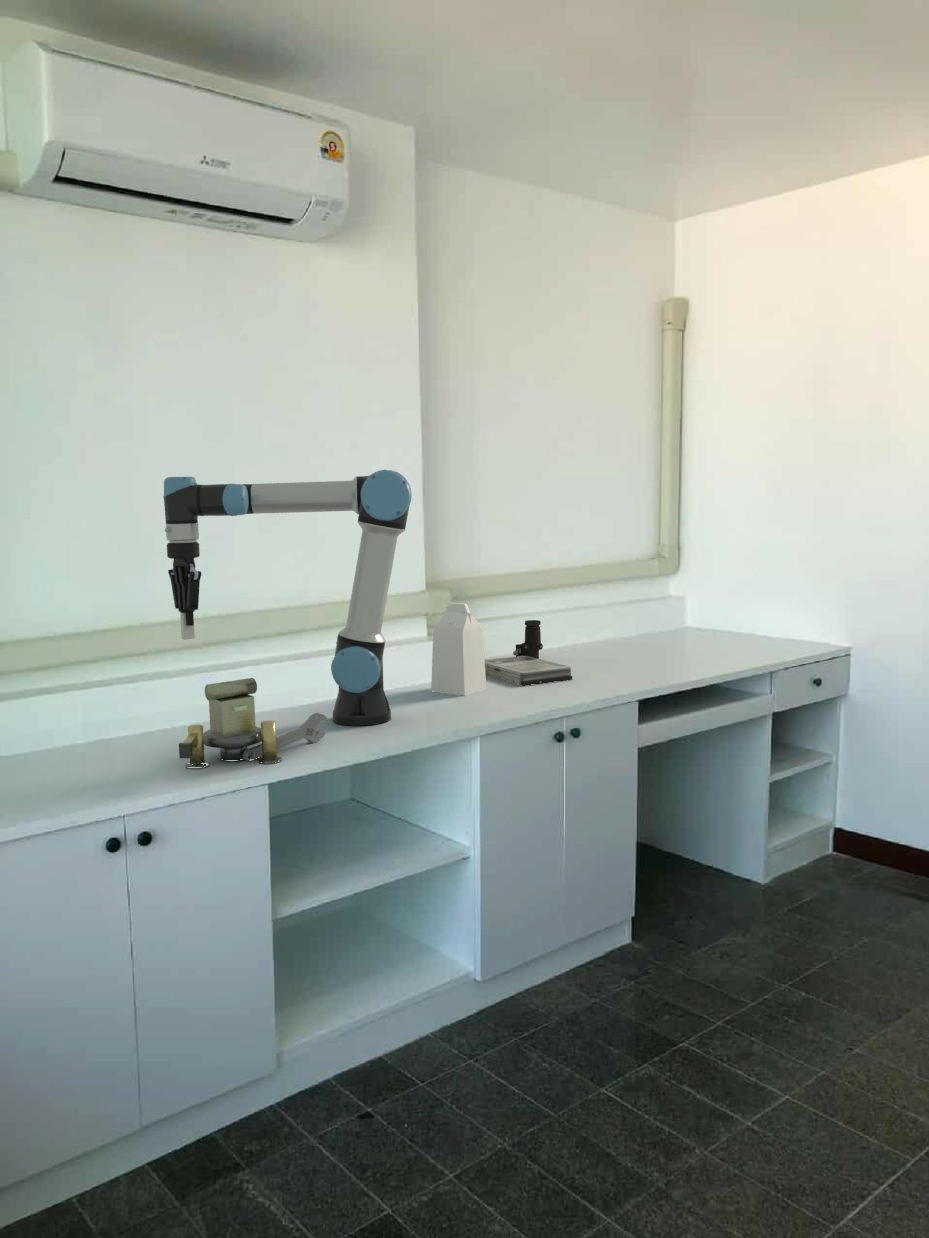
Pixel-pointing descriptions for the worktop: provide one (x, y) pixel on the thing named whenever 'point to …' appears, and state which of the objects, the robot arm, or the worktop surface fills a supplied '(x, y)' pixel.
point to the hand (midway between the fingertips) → (188, 638)
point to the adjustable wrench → (293, 736)
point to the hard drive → (526, 670)
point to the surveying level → (237, 722)
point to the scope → (530, 640)
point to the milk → (458, 653)
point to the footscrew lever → (193, 745)
